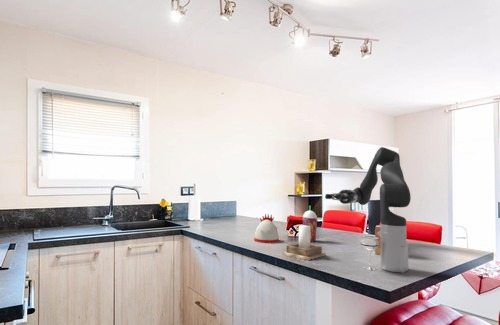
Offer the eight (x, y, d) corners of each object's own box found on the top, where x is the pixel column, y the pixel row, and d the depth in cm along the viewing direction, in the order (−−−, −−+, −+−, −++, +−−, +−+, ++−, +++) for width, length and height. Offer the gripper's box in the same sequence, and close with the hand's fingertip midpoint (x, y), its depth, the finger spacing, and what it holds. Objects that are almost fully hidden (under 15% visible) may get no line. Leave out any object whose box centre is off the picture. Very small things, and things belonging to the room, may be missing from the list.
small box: (374, 254, 147) (374, 226, 148) (376, 251, 152) (376, 225, 153) (393, 256, 143) (393, 228, 144) (394, 254, 148) (394, 226, 149)
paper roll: (312, 252, 142) (312, 226, 143) (306, 254, 138) (306, 227, 139) (302, 251, 146) (302, 225, 146) (296, 252, 142) (296, 226, 143)
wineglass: (381, 268, 122) (381, 237, 122) (375, 272, 117) (375, 239, 117) (364, 265, 126) (364, 235, 127) (357, 268, 121) (357, 237, 122)
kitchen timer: (277, 243, 167) (278, 215, 168) (252, 242, 169) (253, 214, 170) (279, 239, 181) (279, 213, 182) (256, 238, 183) (256, 212, 184)
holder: (325, 255, 142) (325, 246, 142) (309, 260, 132) (309, 250, 132) (299, 250, 152) (299, 241, 152) (282, 254, 141) (282, 245, 142)
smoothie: (319, 240, 178) (319, 205, 179) (314, 243, 171) (314, 206, 172) (305, 239, 182) (305, 204, 184) (300, 241, 175) (300, 205, 177)
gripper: (336, 189, 175) (321, 189, 163) (360, 190, 165) (347, 190, 153) (335, 202, 174) (321, 203, 162) (360, 204, 164) (346, 205, 153)
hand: (333, 197), depth 158 cm, fingers open, 8 cm apart
